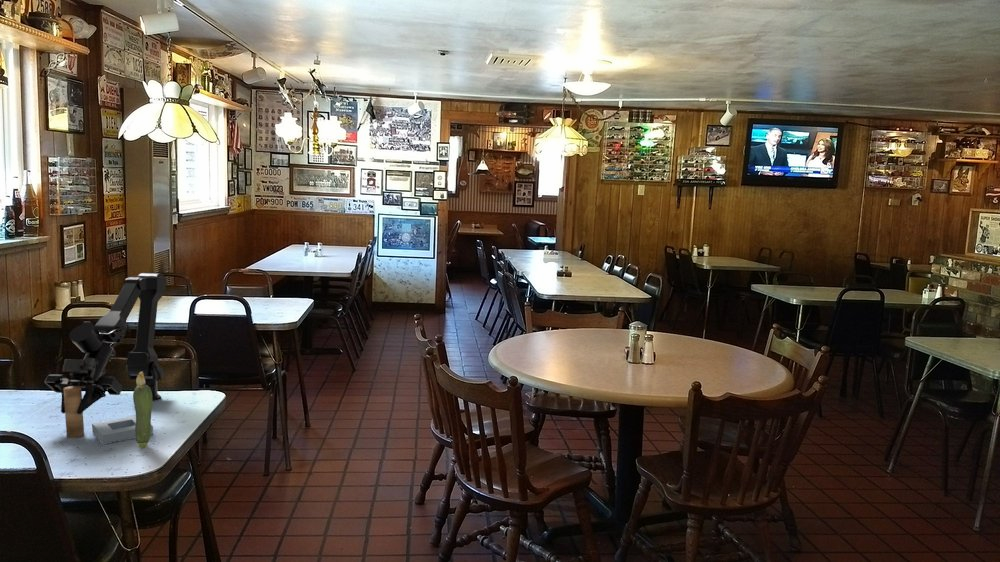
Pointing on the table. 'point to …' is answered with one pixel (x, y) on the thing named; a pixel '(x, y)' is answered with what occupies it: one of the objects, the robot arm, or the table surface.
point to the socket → (116, 429)
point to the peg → (73, 412)
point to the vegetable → (142, 411)
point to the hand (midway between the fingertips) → (70, 413)
